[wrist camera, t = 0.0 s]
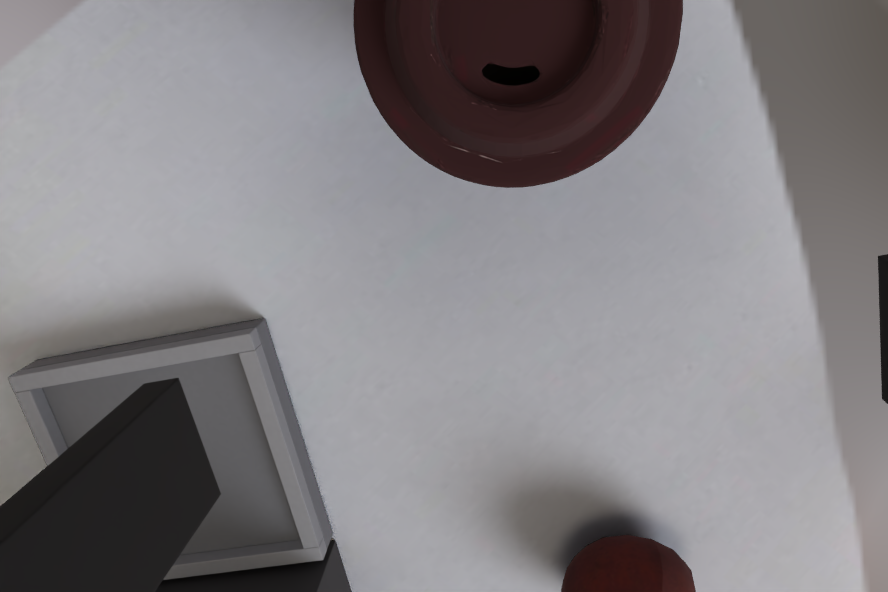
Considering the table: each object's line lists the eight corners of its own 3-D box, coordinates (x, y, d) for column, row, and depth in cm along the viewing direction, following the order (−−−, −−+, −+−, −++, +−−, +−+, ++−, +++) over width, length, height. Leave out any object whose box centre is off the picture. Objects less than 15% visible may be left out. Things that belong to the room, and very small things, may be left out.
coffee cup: (494, -119, 31) (484, -283, 17) (658, 19, 32) (779, -23, 18) (372, 64, 34) (275, 58, 20) (526, 184, 35) (539, 261, 21)
